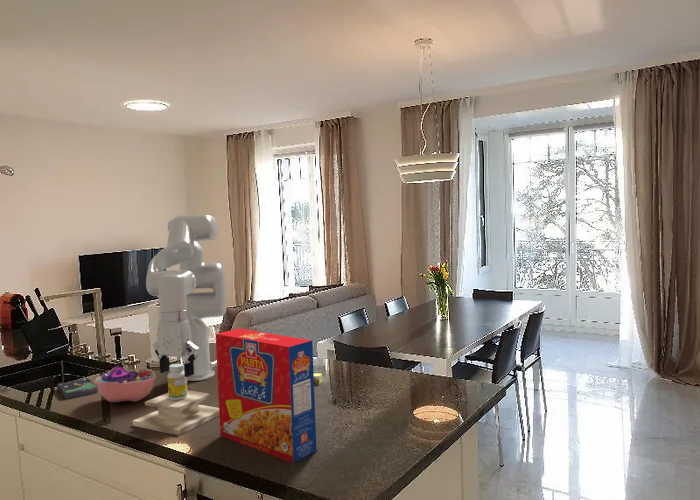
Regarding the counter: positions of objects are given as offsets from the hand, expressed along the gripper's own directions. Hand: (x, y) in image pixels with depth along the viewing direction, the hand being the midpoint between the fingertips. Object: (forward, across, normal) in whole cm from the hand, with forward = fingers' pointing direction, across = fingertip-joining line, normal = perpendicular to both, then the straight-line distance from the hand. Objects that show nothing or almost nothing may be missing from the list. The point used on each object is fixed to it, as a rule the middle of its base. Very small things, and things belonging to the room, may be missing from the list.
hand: (177, 373), depth 162 cm
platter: (+15, +12, +41) cm, 45 cm away
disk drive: (+15, -54, +6) cm, 57 cm away
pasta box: (+13, +35, -4) cm, 38 cm away
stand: (+14, 0, -1) cm, 14 cm away
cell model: (+14, -28, +5) cm, 32 cm away
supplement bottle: (+7, 0, 0) cm, 7 cm away
